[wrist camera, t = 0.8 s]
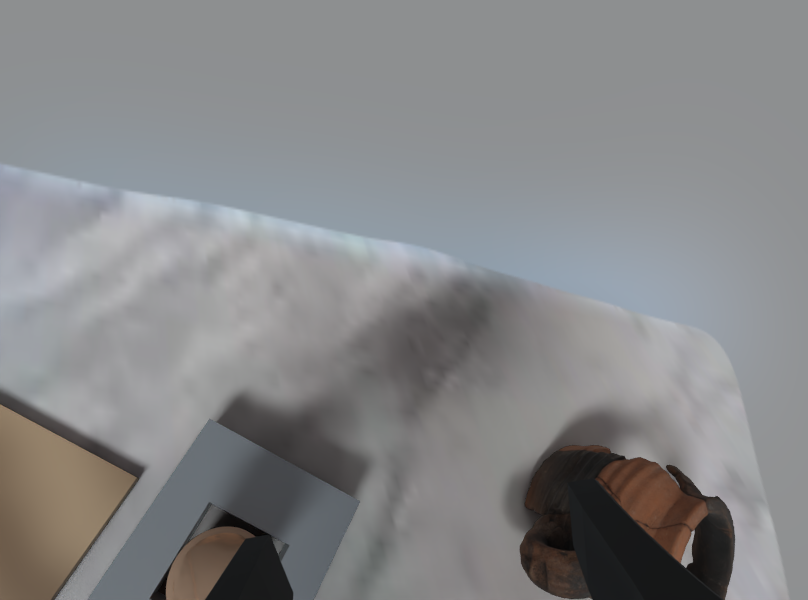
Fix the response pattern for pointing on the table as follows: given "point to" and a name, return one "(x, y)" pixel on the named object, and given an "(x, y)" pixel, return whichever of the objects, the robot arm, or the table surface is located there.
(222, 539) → the plug
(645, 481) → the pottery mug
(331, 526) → the socket
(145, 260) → the table surface
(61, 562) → the coaster
